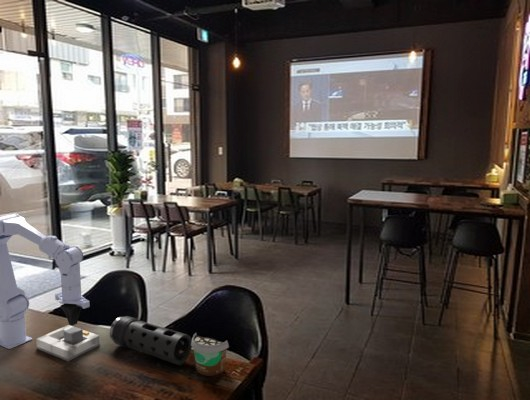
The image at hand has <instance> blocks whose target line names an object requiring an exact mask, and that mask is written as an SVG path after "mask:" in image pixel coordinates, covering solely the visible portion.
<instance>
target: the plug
mask: <svg viewBox="0 0 530 400" xmlns="http://www.w3.org/2000/svg"><path fill="white" fill-rule="evenodd" d="M83 330H84V329H82V328H80V327H77V326H73V327H72V328H70V329H68V330H66V331H64V342H66V343H68V344H71V345H75V344H77V343H79V342H81V341H83Z"/></svg>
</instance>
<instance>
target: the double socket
mask: <svg viewBox="0 0 530 400" xmlns="http://www.w3.org/2000/svg"><path fill="white" fill-rule="evenodd" d="M72 327H74V325H73V326H71V325H69V324H67V325H64V326H63V327H60V328H58V329H55V330H53V331H51V332H49V333H47V334H44V335H42V336H39V337H37V338H36V339H35V343H36V349H37V350H39V351H42V352H45V353H47V354H49V355H51V356H53V357H56V358H59V359H61V360H63V361H66V362H70V361H71V360H73V359H77V358H78V357H80V356H82V355H83V354H85V353H87V352H89V351H91V350H93V349H95V348H97V347H98V346H101V345H100V344H101V343H100V335H99V334H96V333H93V332H90V331H88V330H85V329H82V330H83V341H81V342H79V343H77V344H75V345H71V344H68V343H66V342H64V331H66V330H68V329H70V328H72Z"/></svg>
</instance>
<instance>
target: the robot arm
mask: <svg viewBox="0 0 530 400" xmlns="http://www.w3.org/2000/svg"><path fill="white" fill-rule="evenodd" d="M15 235H17V236H18V235H19V236H20V237H22V238H24V239H26V240H28V241H30V242H31V243H34V244H36V245H38V248H39V251H40V252H42V253H44V254H45V255H47V256H48V257H50V258H52V259H53V260H55V261H54V262H55V264H56V266H58V267H57V268H58V270H59V272H60V284H61V292H59V293H55V294H54V297H55V300H56V301H58V302H59V304H61V305H60V308H61V310H62V311H63V312H64V314H65V317H66V319H67V323H68V325H70V326H73V327H74V326H75V325H77V324H78V322H79V316H80V314H81V311H82V309H87V308H90V300H88V299H86V298H85V297H84V296H83V295H82V284H81V283H82V282H81V278H82V277H81V262H82V261H83V260H84V253H83V250H81V249H80V248H79V246H77V245H73V246H71V245H69V244H68V243H65V242H63V241H62V240H60V239H58V237H57V236H56V235H47V236H46V235H45V234H44V233H42V232H40V231H39V230H38V229H36V228H35V227H34V226H33V225H31V224H29V223H28V222H27V221H26V218H25V217H23V216H21V215H20V214H18V213H14V212H12V213H10V214H6V215H1V216H0V346H2V347H4V348H6V349H8V350H10V349H13V348H15V347H17V346H21V345H22V344H25V343H26V342H27V343H28V342H30V341H32V340H33V338H32V337H31V336H28V335H27V329H26V316H25V314H27V310H28V309H29V307H30V300H29V298H28V296H26V292H25V290H24V289H22V288H20V287H18V285H17V281H16V276H15V273H14V269H13V265H12V260H11V256H10V252H9V248H8V244H7V243H8V242H9V240H10V239H11V238H12V237H13V236H15Z"/></svg>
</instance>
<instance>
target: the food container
mask: <svg viewBox="0 0 530 400" xmlns="http://www.w3.org/2000/svg"><path fill="white" fill-rule="evenodd" d="M191 340H192V342H191V346H192V349H193V352H194V362H195V369H196V370H195V371H196V372H197V374H199V375H202V376H208V377H209V376H217V375H221V374H222V373H223V372H224V371H225V370H226V369H225V368H226V360H227V359H226V358H227V349H229V348H230V345H229V342H228V340H225V341H224V342H223V341H219V340H217V339H215V338H212V337H203V336H200V335H197V332H195V333H194V334H193V336H192V338H191Z"/></svg>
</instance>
